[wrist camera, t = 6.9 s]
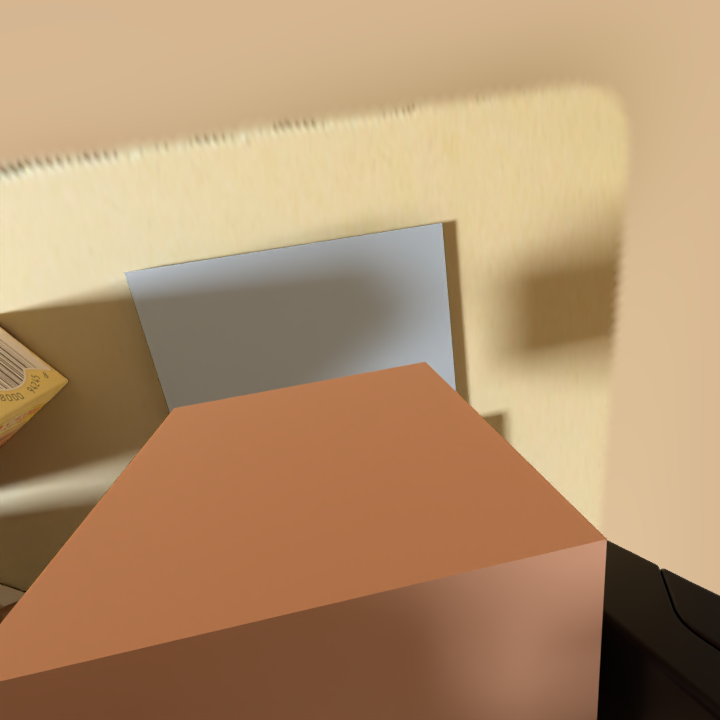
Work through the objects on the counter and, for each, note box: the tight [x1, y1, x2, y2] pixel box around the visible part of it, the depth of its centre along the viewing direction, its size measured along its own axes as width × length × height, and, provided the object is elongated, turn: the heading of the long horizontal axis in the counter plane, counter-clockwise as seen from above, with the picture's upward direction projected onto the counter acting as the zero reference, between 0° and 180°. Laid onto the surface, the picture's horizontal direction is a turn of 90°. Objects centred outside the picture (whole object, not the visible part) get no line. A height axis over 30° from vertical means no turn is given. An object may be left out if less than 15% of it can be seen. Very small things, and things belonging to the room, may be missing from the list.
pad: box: [125, 223, 456, 413], centre depth 18 cm, size 13×10×1 cm
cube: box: [0, 362, 607, 720], centre depth 6 cm, size 5×5×5 cm
